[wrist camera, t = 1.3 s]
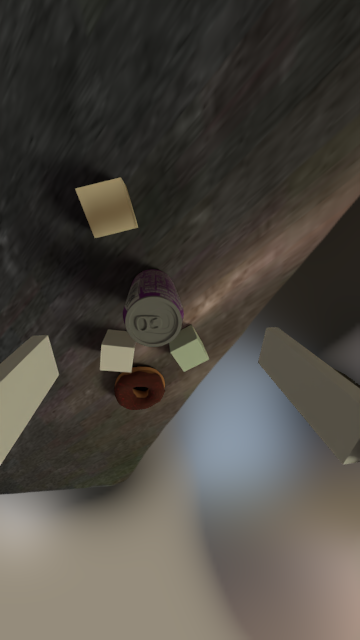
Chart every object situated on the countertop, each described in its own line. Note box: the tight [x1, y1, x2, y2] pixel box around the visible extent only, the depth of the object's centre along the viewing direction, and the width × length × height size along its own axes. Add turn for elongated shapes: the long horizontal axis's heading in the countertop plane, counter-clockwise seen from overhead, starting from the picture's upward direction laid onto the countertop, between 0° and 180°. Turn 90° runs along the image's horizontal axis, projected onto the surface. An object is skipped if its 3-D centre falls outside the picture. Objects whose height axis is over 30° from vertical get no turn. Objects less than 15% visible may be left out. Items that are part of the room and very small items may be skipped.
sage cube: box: [169, 325, 209, 372], centre depth 35 cm, size 5×5×5 cm
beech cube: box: [75, 177, 138, 238], centre depth 24 cm, size 5×5×5 cm
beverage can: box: [123, 269, 184, 347], centre depth 26 cm, size 7×7×12 cm
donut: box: [114, 367, 165, 410], centre depth 38 cm, size 10×10×4 cm
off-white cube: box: [100, 329, 136, 373], centre depth 33 cm, size 5×5×5 cm
